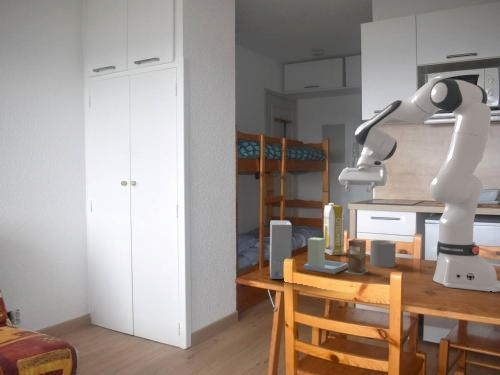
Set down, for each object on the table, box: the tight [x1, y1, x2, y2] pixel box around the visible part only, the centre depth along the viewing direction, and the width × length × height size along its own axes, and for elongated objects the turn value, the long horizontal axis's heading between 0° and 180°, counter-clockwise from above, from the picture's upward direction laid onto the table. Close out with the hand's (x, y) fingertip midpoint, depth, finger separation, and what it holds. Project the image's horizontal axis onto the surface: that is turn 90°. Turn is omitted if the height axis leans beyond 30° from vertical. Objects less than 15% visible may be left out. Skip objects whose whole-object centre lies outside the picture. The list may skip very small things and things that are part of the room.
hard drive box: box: [269, 220, 293, 280], centre depth 168 cm, size 16×8×20 cm, turn 179°
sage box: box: [307, 236, 326, 267], centre depth 176 cm, size 5×5×12 cm
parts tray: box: [303, 259, 348, 275], centre depth 177 cm, size 13×13×2 cm
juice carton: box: [323, 202, 345, 256], centre depth 209 cm, size 9×8×24 cm
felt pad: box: [344, 269, 369, 276], centre depth 172 cm, size 7×8×1 cm
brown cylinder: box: [347, 238, 367, 274], centre depth 172 cm, size 5×5×12 cm
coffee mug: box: [369, 239, 397, 268], centre depth 185 cm, size 13×10×10 cm
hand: (357, 191), depth 186 cm, fingers open, 8 cm apart
